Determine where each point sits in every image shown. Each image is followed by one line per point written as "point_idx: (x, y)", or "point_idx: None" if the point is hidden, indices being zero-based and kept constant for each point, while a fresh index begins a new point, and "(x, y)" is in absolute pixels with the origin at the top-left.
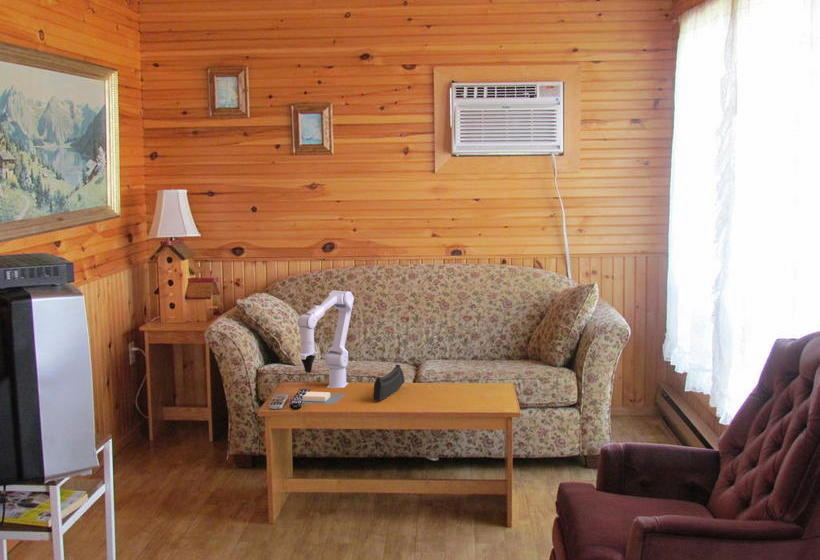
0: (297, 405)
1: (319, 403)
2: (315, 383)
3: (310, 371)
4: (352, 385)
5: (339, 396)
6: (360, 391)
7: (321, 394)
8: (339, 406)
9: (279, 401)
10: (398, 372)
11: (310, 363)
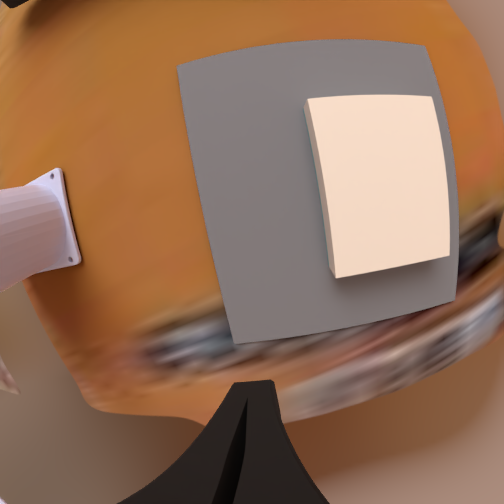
0: (474, 244)
1: (443, 130)
2: (58, 341)
3: (263, 386)
4: (17, 165)
5: (249, 67)
6: (91, 54)
7: (389, 139)
8: (425, 25)
9: (415, 360)
10: None
11: (314, 484)
